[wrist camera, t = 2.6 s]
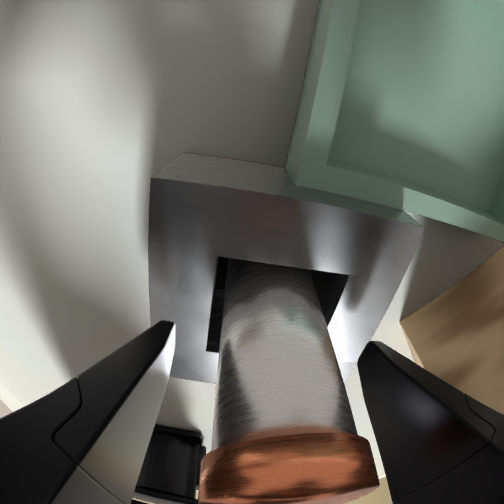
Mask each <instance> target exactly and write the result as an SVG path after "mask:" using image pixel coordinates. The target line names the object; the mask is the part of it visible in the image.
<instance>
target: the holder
mask: <svg viewBox="0 0 504 504" xmlns="http://www.w3.org/2000/svg"><path fill="white" fill-rule="evenodd" d="M423 229H424V227H423V226H422V225H420V224H419V223H418V222H417V221H416V220H414V219H413V218H412V217H411V216H410V215H408V214H407V213H406V212H405V211H403V210H401V209H397V208H393V207H390V206H386V205H382V204H378V203H374V202H370V201H366V200H362V199H358V198H354V197H349V196H345V195H341V194H336V193H332V192H327V191H322V190H318V189H313V188H308V187H303V186H298V185H295V183H294V182H293V180H292V178H291V177H290V175H289V173H288V172H287V170H286V168H282V167H277V166H271V165H266V164H260V163H254V162H248V161H242V160H236V159H229V158H222V157H215V156H208V155H200V154H192V153H182V154H180V155H179V156H178V157H176V158H175V159H174V160H172V161H171V162H170V163H168V164H167V165H166V166H165V167H163V168H162V169H161V170H160V171H158V172H157V173H156V174H155V175H153V176H152V177H151V184H150V204H149V247H148V255H149V298H150V317H151V327H152V326H153V325H155V324H156V323H158V322H159V321H161V320H166V321H172V322H174V323H175V350H174V355H173V360H172V365H171V370H170V376H169V377H175V378H181V379H187V380H193V381H200V382H207V383H215V384H216V383H217V371H218V360H219V348H220V337H221V327H222V316H223V306H224V296H225V289H221V288H215V284H216V276H217V269H218V262H219V256H220V257H226V258H233V259H240V260H247V261H254V262H261V263H268V264H275V265H282V266H289V267H296V268H303V269H309V272H310V275H311V278H312V281H313V284H314V287H315V290H316V293H317V296H318V299H319V303H320V306H321V309H322V312H323V315H324V318H325V321H326V325H327V328H328V331H329V334H330V337H331V341H332V344H333V347H334V351H335V354H336V357H337V361H338V364H339V368H340V371H341V375H342V378H343V382H345V380H346V379H347V377H348V376H349V374H350V373H351V371H352V369H353V368H354V366H355V365H356V363H357V362H358V358H359V356H360V354H361V353H362V351H363V349H364V348H365V346H366V344H367V343H368V342H369V341H370V340H371V338H372V336H373V335H374V333H375V331H376V329H377V327H378V326H379V324H380V322H381V320H382V318H383V316H384V315H385V313H386V311H387V309H388V307H389V305H390V303H391V301H392V299H393V297H394V295H395V293H396V291H397V289H398V287H399V285H400V283H401V281H402V279H403V276H404V274H405V272H406V270H407V268H408V265H409V263H410V261H411V259H412V256H413V254H414V252H415V249H416V247H417V245H418V242H419V240H420V237H421V235H422V232H423Z"/></svg>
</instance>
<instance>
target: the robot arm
mask: <svg viewBox="0 0 504 504" xmlns="http://www.w3.org/2000/svg"><path fill="white" fill-rule="evenodd" d="M174 350H175V323H174V322H172V321H166V320H161V321H159V322H158V323H156V324H155V325H153V326H152V327H150V328H149V329H147V330H146V331H144V332H143V333H141V334H140V335H138V336H137V337H135V338H134V339H132V340H131V341H129V342H128V343H126V344H125V345H123V346H122V347H120V348H119V349H117V350H116V351H114V352H113V353H111V354H110V355H108V356H107V357H105V358H104V359H102V360H101V361H99V362H98V363H96V364H95V365H93V366H92V367H90V368H89V369H87V370H86V371H84V372H83V373H81V374H80V375H78V376H77V378H76V377H75V378H73V379H72V380H70V381H69V382H67V383H66V384H64V385H62V386H61V387H59V388H58V389H56V390H54V391H53V392H51V393H49V394H48V395H46V396H44V397H42V398H40V399H38V400H36V401H35V402H33V403H31V404H29V405H27V406H25V407H23V408H21V409H19V410H17V411H15V412H12V413H10V414H9V415H6V416H5V417H2V418H0V504H147V503H143V502H140V501H136V500H133V499H132V498H136V499H139V500H143V501H147V502H151V503H155V504H198V499H195V498H196V490H199V481H200V468H201V460H202V458H203V457H204V456H205V455H206V447H205V446H201V442H202V435H201V434H200V433H195V432H188V431H182V430H176V429H170V428H165V427H160V426H155V423H156V420H157V417H158V414H159V411H160V408H161V405H162V402H163V399H164V396H165V393H166V390H167V386H168V381H169V376H170V370H171V365H172V360H173V355H174ZM357 366H358V371H359V376H360V381H361V386H362V391H363V396H364V401H365V404H366V408H367V411H368V414H369V417H370V421H371V424H372V427H373V431H374V434H375V438H376V441H377V445H378V448H379V452H380V455H381V459H382V463H383V467H384V470H385V474H386V478H387V482H388V486H389V490H390V494H391V498H392V502H393V504H504V415H503V414H501V413H499V412H497V411H495V410H494V409H492V408H490V407H488V406H486V405H484V404H483V403H481V402H479V401H477V400H476V399H474V398H472V397H471V396H469V395H467V394H466V393H464V394H463V392H462V391H460V390H458V389H457V388H455V387H453V386H452V385H450V384H449V383H447V382H445V381H444V380H442V379H440V378H439V377H437V376H435V375H434V374H432V373H431V372H429V371H427V370H426V369H424V368H422V367H421V366H419V365H418V364H416V363H414V362H413V361H411V360H409V359H408V358H406V357H405V356H403V355H401V354H400V353H398V352H397V351H395V350H393V349H392V348H390V347H388V346H387V345H385V344H384V343H382V342H380V341H369V342H368V343H367V344H366V346H365V348H364V349H363V351H362V353H361V354H360V356H359V358H358V362H357Z"/></svg>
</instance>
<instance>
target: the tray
mask: <svg viewBox="0 0 504 504" xmlns="http://www.w3.org/2000/svg"><path fill="white" fill-rule="evenodd" d="M285 168H286V170H287V172H288V173H289V175H290V177H291V178H292V180H293V182H294V183H295V185H298V186H303V187H308V188H313V189H318V190H322V191H327V192H332V193H336V194H341V195H345V196H349V197H354V198H358V199H362V200H366V201H370V202H374V203H378V204H382V205H386V206H390V207H393V208H397V209H401V210H404V211H408V212H411V213H415V214H418V215H422V216H425V217H429V218H432V219H435V220H439V221H442V222H445V223H448V224H451V225H455V226H458V227H461V228H464V229H467V230H470V231H473V232H476V233H478V234H481V235H484V236H487V237H490V238H493V239H495V240H498V241H501V242H503V243H504V0H319V5H318V10H317V16H316V21H315V26H314V31H313V36H312V41H311V47H310V52H309V57H308V62H307V67H306V72H305V77H304V82H303V86H302V91H301V96H300V101H299V106H298V111H297V116H296V120H295V125H294V130H293V135H292V139H291V144H290V149H289V153H288V158H287V163H286V167H285Z"/></svg>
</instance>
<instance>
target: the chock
mask: <svg viewBox="0 0 504 504" xmlns="http://www.w3.org/2000/svg"><path fill="white" fill-rule="evenodd" d="M399 322H400V324H401V327H402V329H403V332H404V334H405V337H406V340H407V342H408V345H409V347H410V350H411V353H412V355H413V358H414V361H415V363H416V364H418V365H419V366H421V367H422V368H424V369H426V370H427V371H429V372H431V373H432V374H434V375H435V376H437V377H439V378H440V379H442V380H444V381H445V382H447V383H449V384H450V385H452V386H453V387H455V388H457V389H458V390H460V391H462V392H463V394H464V393H466V394H467V395H469V396H471V397H472V398H474V399H476V400H477V401H479V402H481V403H483V404H484V405H486V406H488V407H490V408H492V409H494V410H495V411H497V412H499V413H501V414H503V415H504V246H503V247H502V248H500V249H499V250H498V251H497V252H496V253H495V254H493V255H492V256H491V257H490V258H489V259H487V260H486V261H485V262H484V263H482V264H481V265H480V266H479V267H477V268H476V269H475V270H474V271H472V272H471V273H470V274H468V275H467V276H466V277H464V278H463V279H462V280H460V281H459V282H458V283H456V284H455V285H454V286H452V287H451V288H449V289H448V290H447V291H445V292H444V293H442V294H441V295H440V296H438V297H437V298H435V299H434V300H432V301H431V302H429V303H428V304H426V305H425V306H423V307H422V308H420V309H419V310H417V311H415V312H414V313H412V314H411V315H409V316H408V317H406V318H404V319H403V320H401V321H399Z"/></svg>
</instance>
